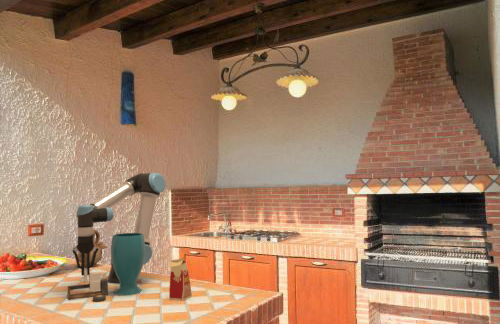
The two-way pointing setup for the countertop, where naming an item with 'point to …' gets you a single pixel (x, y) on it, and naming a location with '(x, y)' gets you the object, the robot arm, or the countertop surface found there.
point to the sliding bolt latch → (88, 294)
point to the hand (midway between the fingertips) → (85, 281)
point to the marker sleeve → (94, 281)
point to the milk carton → (179, 281)
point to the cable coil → (99, 298)
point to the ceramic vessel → (98, 254)
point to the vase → (128, 261)
